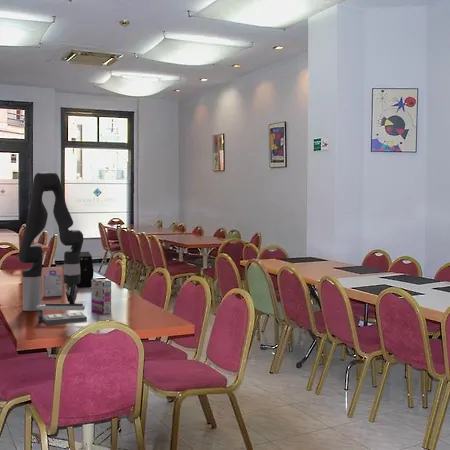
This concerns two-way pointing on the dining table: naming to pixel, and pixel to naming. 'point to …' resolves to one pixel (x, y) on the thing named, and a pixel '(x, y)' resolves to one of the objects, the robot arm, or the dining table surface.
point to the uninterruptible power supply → (85, 270)
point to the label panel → (64, 318)
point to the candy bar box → (101, 296)
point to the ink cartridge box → (53, 284)
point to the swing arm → (61, 306)
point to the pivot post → (40, 316)
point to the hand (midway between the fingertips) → (72, 309)
